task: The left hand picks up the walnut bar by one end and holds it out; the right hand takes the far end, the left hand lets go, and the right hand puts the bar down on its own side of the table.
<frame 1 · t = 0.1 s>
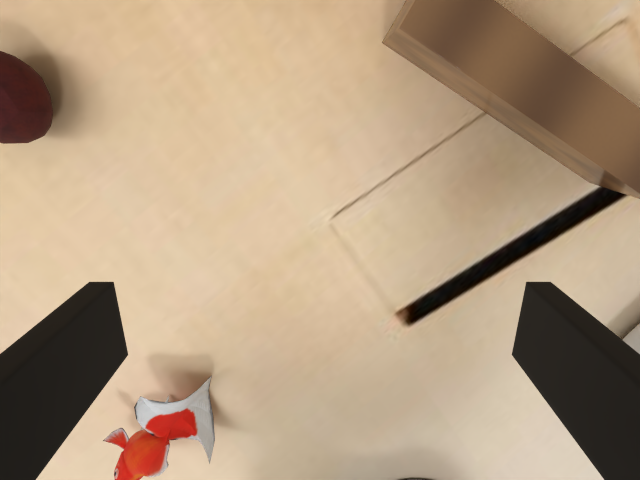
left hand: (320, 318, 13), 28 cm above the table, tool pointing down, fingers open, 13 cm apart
fish: (175, 403, 49), on the table
bar: (508, 93, 37), on the table
dark red round piece: (31, 99, 37), on the table
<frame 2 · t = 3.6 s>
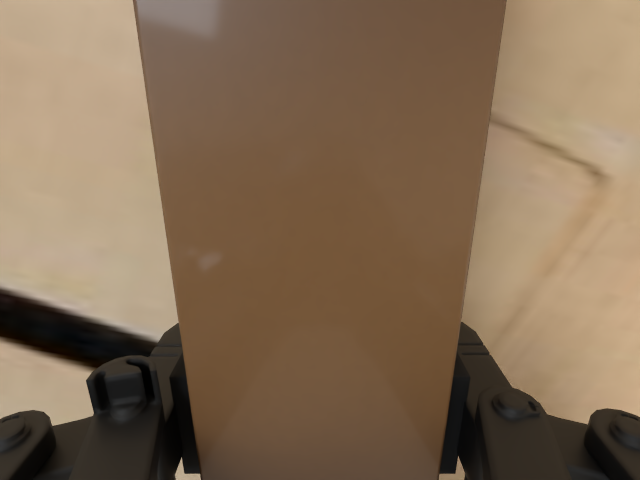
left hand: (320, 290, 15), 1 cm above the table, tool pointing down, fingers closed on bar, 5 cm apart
bar: (319, 19, 12), on the table, touching left hand
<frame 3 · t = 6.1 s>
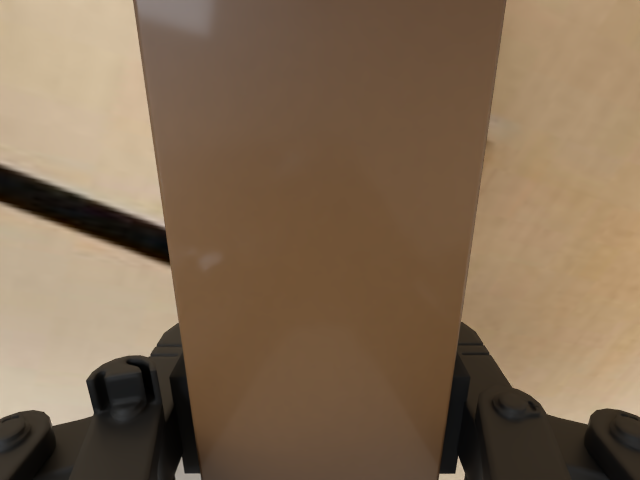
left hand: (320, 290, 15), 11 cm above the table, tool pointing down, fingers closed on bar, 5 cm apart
bar: (319, 19, 12), point 10 cm above the table, touching left hand
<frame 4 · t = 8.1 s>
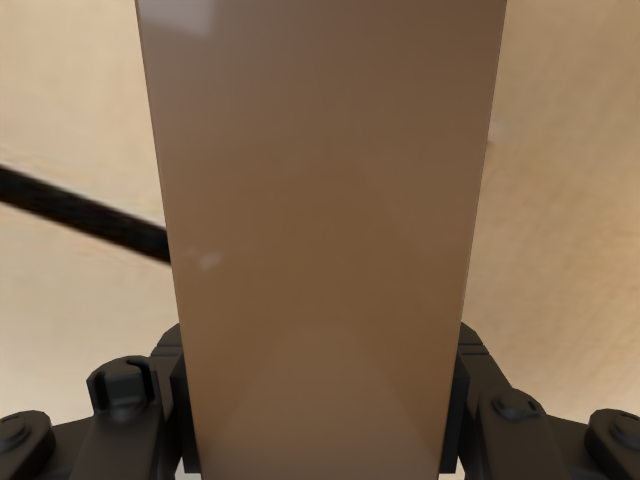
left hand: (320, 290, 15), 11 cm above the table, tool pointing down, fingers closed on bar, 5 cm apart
bar: (320, 19, 12), point 10 cm above the table, touching left hand, right hand
when the left hand's fingers open (11 cm above the table, at t = 8.6 s): bar stays where it is, held by the right hand.
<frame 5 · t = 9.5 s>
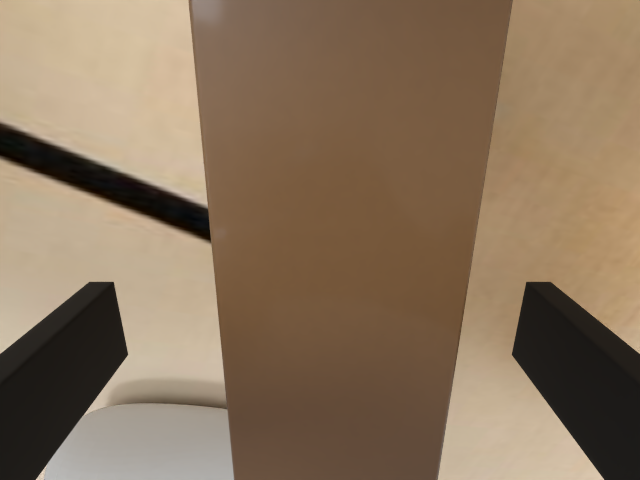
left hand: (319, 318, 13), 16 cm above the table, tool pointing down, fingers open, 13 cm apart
projector: (221, 453, 36), on the table
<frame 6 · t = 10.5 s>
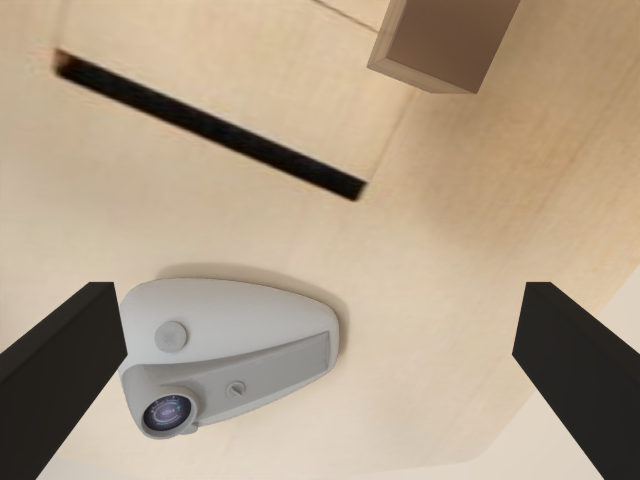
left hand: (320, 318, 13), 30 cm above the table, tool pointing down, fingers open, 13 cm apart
projector: (240, 326, 47), on the table
when the right hand's fingers open (2 cm above the table, at t = 13.4 s): bar drops 1 cm, on the table.
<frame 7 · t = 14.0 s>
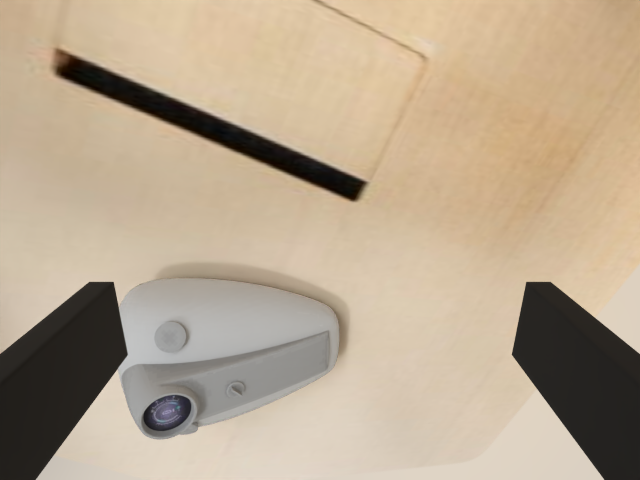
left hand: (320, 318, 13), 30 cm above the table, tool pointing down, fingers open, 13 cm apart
projector: (240, 326, 47), on the table
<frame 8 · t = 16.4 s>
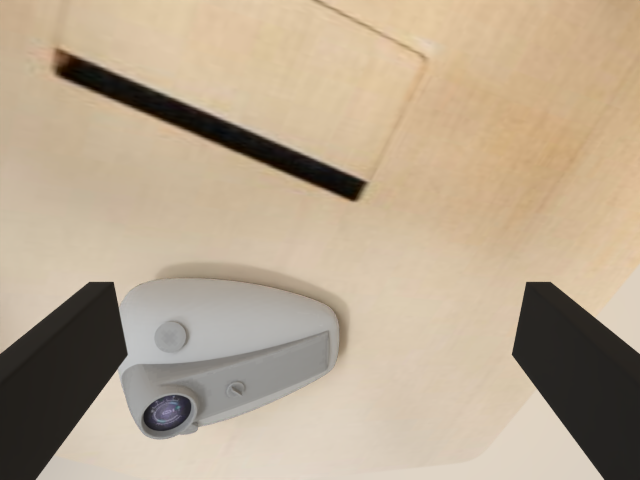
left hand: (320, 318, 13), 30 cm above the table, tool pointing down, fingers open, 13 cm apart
projector: (240, 326, 47), on the table
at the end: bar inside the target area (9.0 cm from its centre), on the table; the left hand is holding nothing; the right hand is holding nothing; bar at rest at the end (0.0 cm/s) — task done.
